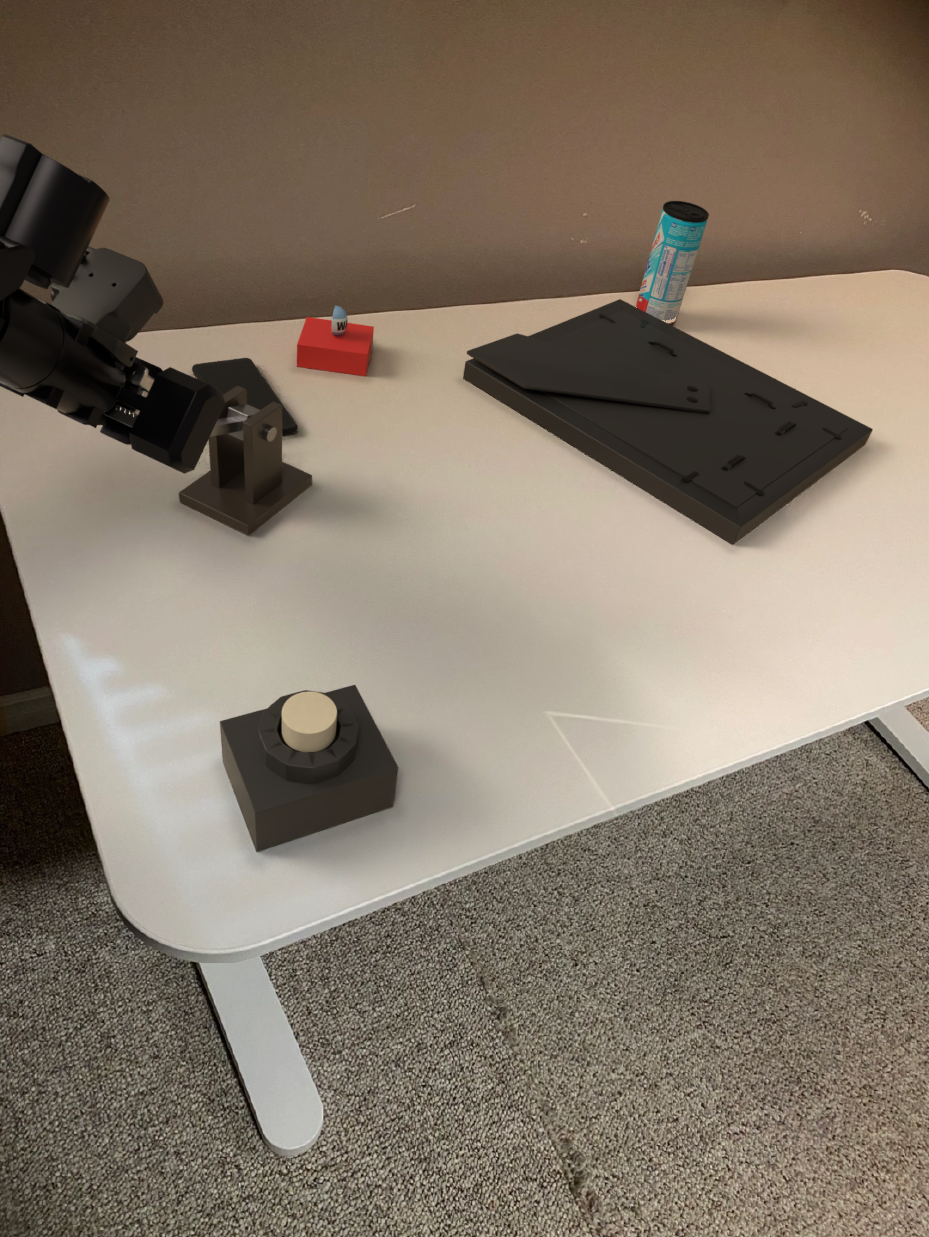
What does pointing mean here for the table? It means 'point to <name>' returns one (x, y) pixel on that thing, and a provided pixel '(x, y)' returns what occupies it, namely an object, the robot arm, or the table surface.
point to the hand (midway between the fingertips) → (162, 419)
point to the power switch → (234, 421)
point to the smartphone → (243, 384)
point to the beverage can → (671, 259)
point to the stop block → (307, 772)
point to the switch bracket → (246, 472)
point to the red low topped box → (335, 344)
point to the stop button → (309, 721)
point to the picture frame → (669, 414)
